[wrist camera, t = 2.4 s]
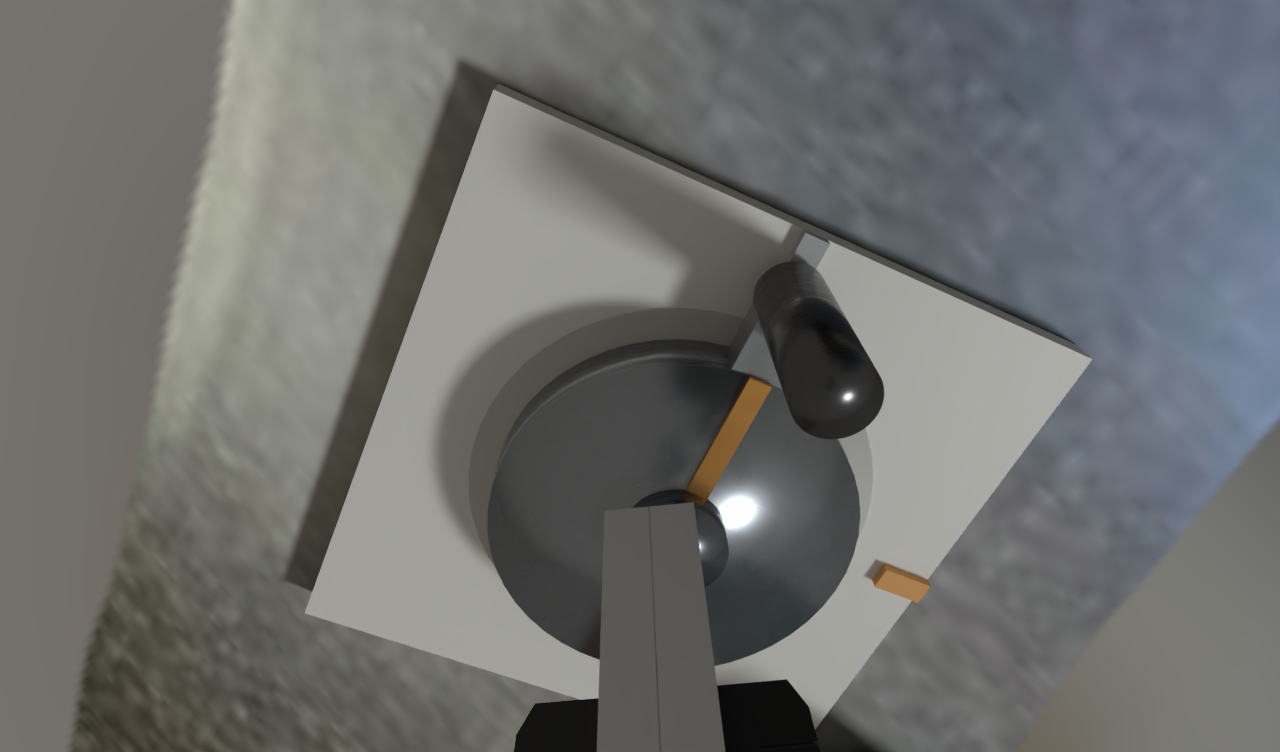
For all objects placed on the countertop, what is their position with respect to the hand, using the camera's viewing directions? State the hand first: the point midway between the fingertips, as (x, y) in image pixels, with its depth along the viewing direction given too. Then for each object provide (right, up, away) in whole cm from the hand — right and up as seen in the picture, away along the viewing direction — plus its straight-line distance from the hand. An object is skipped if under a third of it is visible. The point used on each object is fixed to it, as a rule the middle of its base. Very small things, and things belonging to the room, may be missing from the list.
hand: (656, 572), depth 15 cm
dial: (+2, 0, +17) cm, 17 cm away
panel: (+1, -1, +19) cm, 19 cm away
